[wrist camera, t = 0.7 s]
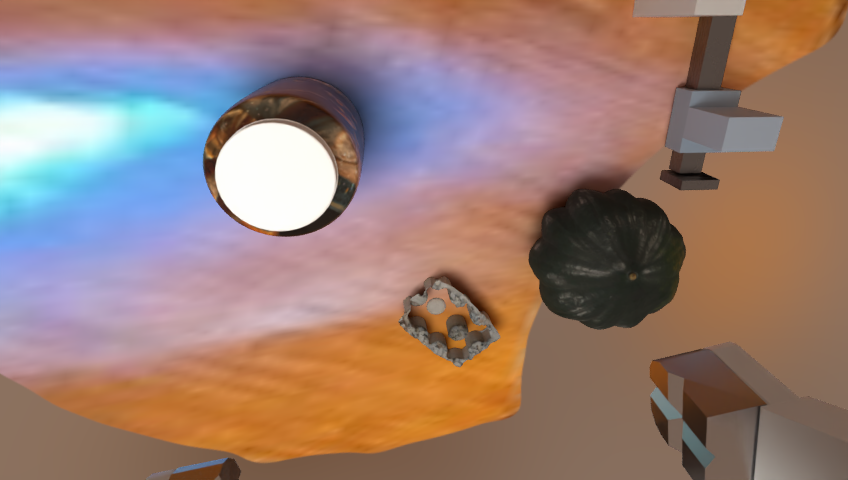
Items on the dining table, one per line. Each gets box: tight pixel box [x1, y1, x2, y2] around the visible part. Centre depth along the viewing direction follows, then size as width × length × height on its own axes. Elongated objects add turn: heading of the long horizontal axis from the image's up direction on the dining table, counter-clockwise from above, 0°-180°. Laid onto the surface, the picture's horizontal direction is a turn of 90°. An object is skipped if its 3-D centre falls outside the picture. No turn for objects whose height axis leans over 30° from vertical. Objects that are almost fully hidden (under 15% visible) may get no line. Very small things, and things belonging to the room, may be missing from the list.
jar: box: [203, 77, 364, 237], centre depth 42 cm, size 12×12×15 cm
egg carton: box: [398, 276, 500, 367], centre depth 57 cm, size 11×8×4 cm
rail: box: [660, 15, 737, 190], centre depth 48 cm, size 23×4×4 cm, turn 0°
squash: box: [529, 189, 686, 330], centre depth 51 cm, size 14×15×15 cm
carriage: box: [665, 87, 784, 153], centre depth 48 cm, size 6×5×9 cm
